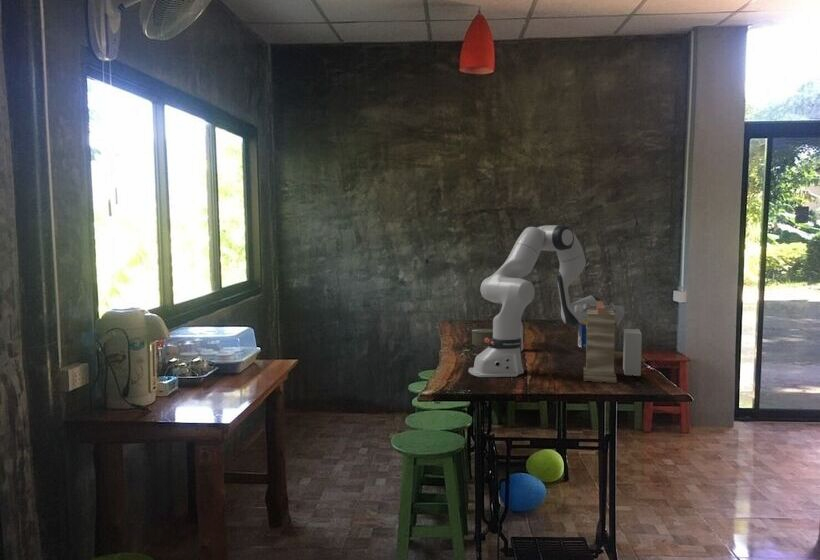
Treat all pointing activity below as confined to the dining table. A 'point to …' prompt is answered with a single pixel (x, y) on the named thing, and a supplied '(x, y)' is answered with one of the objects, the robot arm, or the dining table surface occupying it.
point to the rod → (600, 307)
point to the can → (481, 336)
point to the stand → (600, 347)
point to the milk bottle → (521, 335)
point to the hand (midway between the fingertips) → (599, 304)
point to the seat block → (632, 352)
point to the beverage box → (582, 334)
